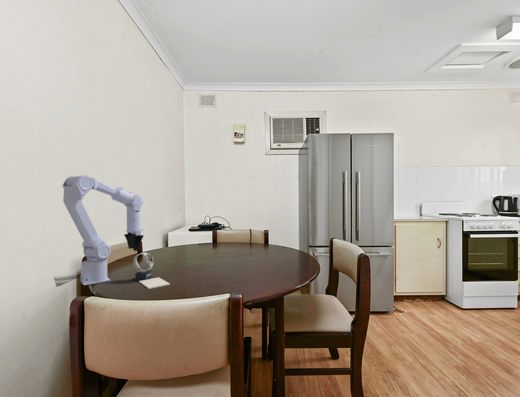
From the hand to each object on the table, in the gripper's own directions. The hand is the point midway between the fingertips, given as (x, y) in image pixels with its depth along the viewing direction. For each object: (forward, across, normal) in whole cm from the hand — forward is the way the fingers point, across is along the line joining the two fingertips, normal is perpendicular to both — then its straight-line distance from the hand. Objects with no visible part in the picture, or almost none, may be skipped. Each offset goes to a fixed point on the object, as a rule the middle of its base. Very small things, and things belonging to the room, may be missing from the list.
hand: (133, 249), depth 130 cm
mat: (+10, -26, 0) cm, 28 cm away
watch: (+11, -16, +1) cm, 19 cm away
